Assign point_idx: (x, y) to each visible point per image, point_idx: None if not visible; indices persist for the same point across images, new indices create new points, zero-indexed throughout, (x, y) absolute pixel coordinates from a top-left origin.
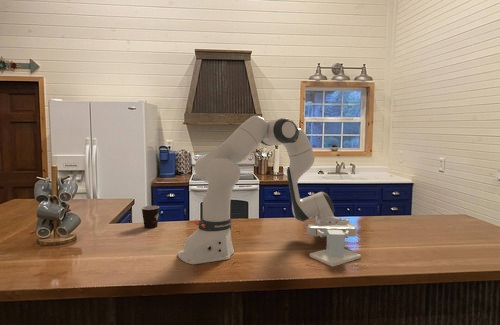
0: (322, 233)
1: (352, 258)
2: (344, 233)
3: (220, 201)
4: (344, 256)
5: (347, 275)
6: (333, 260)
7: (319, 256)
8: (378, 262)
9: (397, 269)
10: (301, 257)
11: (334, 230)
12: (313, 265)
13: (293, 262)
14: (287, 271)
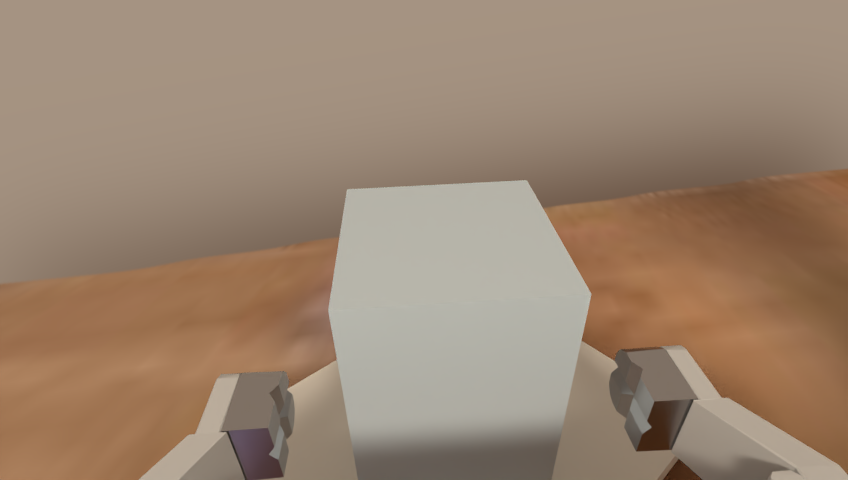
0: (654, 348)
1: (295, 391)
2: (278, 380)
3: None
4: None
5: None
6: None
7: (589, 365)
8: (86, 399)
9: (53, 314)
10: (756, 405)
11: (461, 279)
12: (601, 295)
13: (755, 315)
14: (712, 228)
